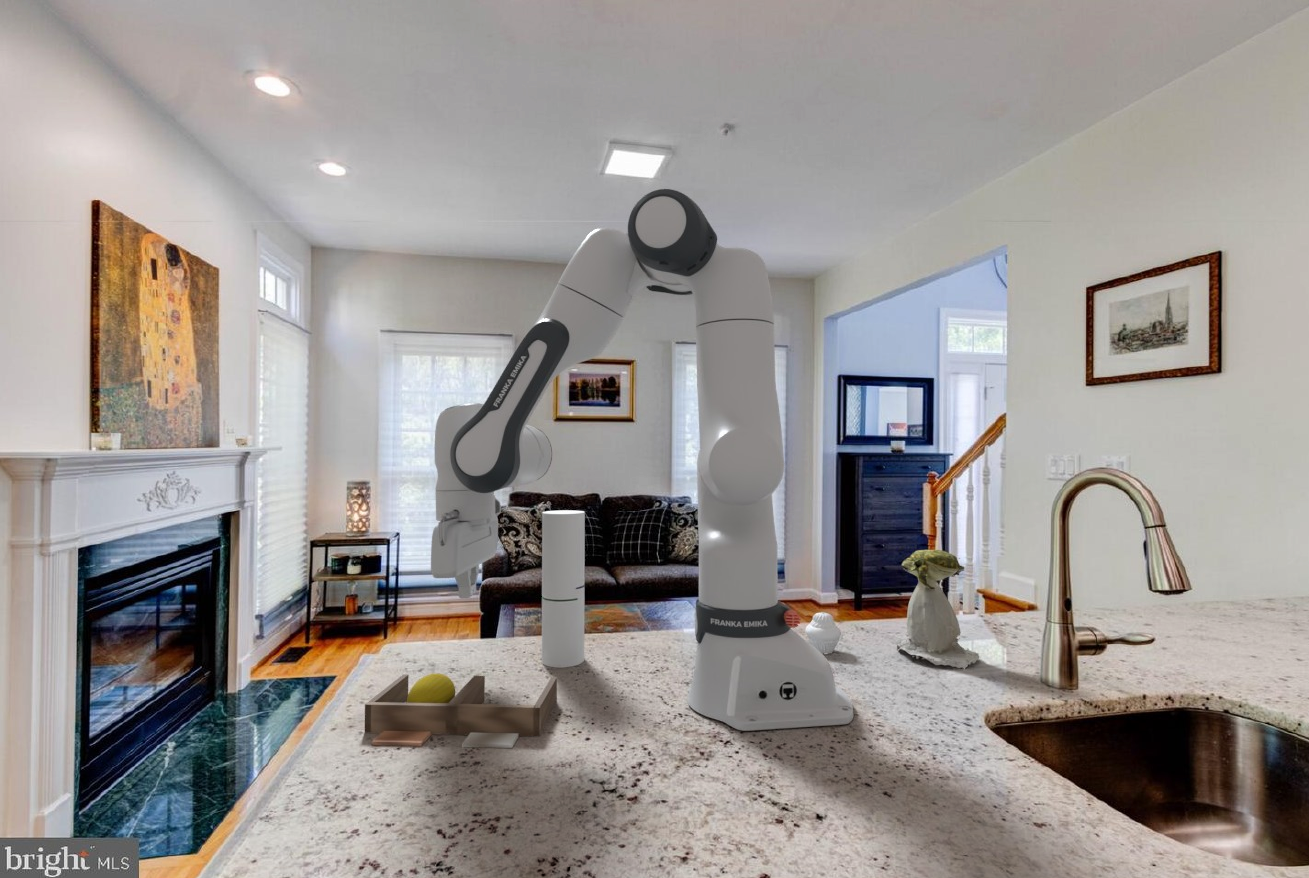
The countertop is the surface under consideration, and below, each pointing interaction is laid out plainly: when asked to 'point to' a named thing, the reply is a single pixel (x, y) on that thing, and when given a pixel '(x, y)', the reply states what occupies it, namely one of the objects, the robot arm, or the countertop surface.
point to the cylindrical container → (563, 587)
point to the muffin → (823, 632)
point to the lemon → (432, 690)
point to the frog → (934, 611)
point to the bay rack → (455, 716)
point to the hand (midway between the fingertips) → (467, 596)
